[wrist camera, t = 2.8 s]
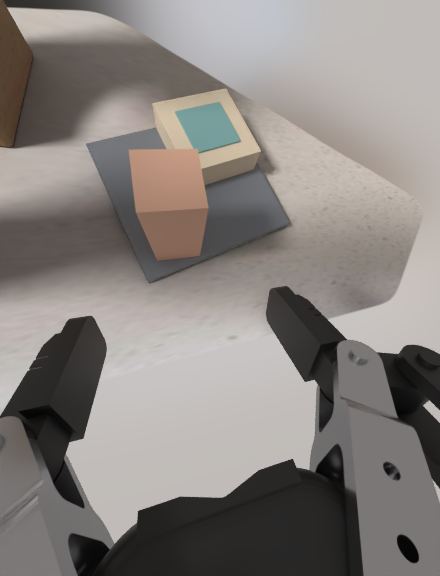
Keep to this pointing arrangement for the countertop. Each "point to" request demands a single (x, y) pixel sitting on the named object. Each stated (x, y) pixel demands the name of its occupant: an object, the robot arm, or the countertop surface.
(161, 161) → the terracotta block
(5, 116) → the decorative block
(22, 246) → the countertop surface
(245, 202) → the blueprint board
